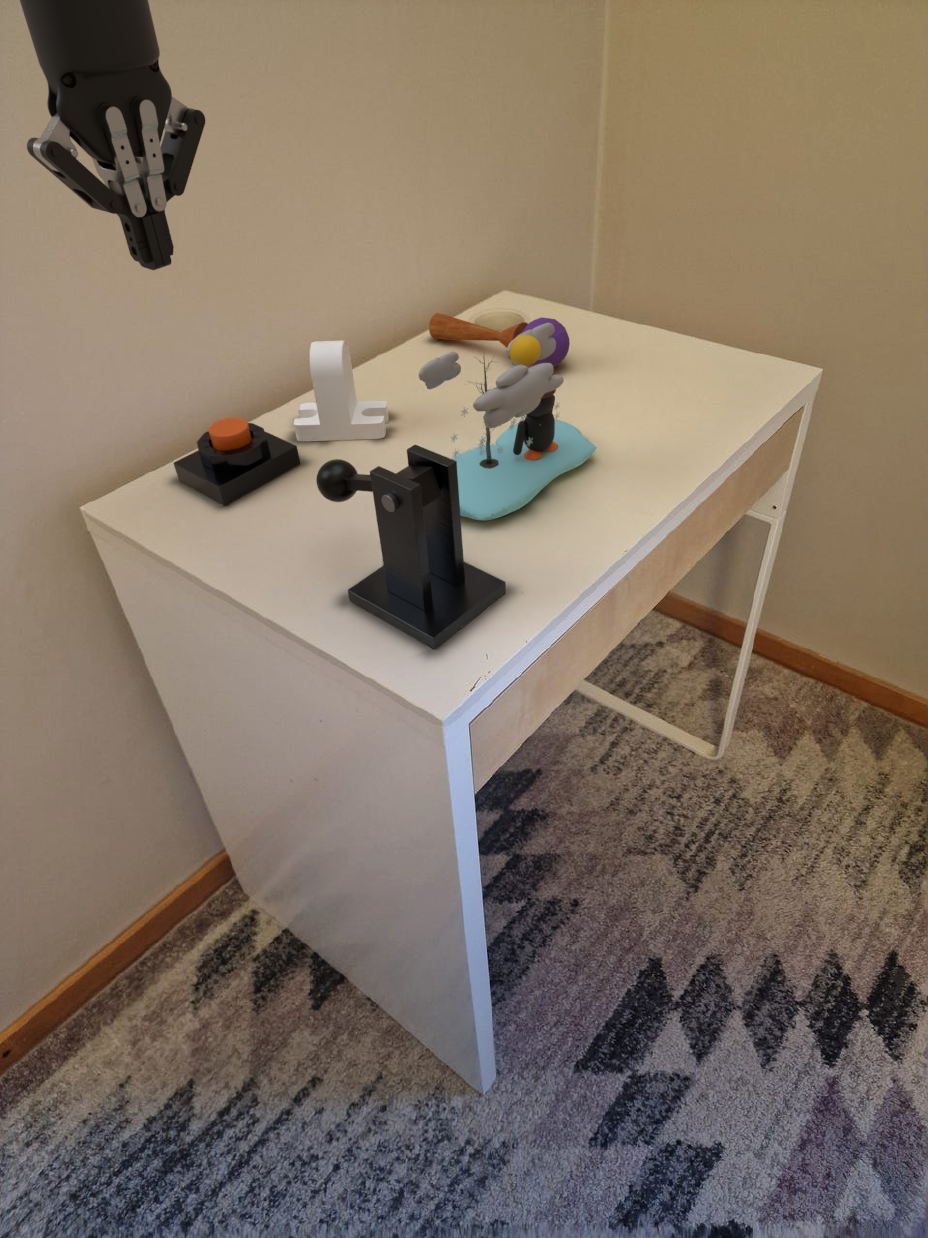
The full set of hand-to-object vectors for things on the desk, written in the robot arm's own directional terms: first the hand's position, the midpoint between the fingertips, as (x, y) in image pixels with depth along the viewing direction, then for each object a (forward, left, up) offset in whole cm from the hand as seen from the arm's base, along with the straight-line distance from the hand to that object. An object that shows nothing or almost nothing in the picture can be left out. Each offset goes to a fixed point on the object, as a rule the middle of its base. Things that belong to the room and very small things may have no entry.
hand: (156, 265), depth 64 cm
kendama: (+46, +6, -26) cm, 53 cm away
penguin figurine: (+24, -14, -26) cm, 38 cm away
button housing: (+8, +10, -26) cm, 29 cm away
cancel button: (+8, +10, -22) cm, 26 cm away
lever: (+5, -16, -18) cm, 24 cm away
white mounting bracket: (+21, +8, -26) cm, 34 cm away
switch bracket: (+5, -20, -26) cm, 33 cm away
